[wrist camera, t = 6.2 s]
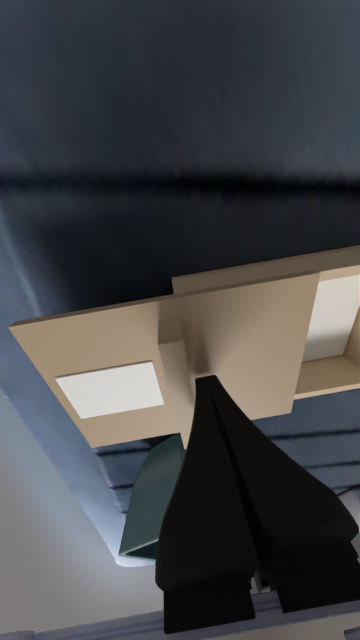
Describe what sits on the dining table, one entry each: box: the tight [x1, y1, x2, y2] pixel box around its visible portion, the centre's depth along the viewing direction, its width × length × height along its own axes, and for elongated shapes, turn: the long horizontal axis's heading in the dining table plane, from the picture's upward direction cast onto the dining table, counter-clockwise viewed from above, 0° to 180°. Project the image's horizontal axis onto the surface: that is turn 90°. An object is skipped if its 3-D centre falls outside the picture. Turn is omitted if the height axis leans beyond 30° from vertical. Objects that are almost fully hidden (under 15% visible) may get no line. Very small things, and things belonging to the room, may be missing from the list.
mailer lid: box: [8, 270, 321, 449], centre depth 12 cm, size 16×12×3 cm
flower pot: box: [119, 432, 186, 561], centre depth 21 cm, size 9×9×9 cm
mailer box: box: [171, 245, 360, 399], centre depth 15 cm, size 16×11×4 cm
